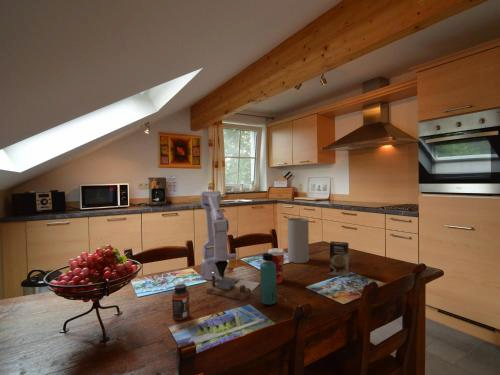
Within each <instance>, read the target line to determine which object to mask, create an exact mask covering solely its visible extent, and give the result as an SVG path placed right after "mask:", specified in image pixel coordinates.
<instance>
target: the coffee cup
mask: <svg viewBox="0 0 500 375" xmlns="http://www.w3.org/2000/svg"><path fill="white" fill-rule="evenodd" d="M267 253H270V254H273V260H272V261H271V262H273V263H274V264H275V265H276V274H277V275H276V284H280V283H283V280H284V279H283V278H284V262H285V260H284V259H285V251H284V249H282V248H275V247H274V248H270V249H268V252H267Z"/></svg>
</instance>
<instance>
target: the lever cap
mask: <svg viewBox="0 0 500 375" xmlns="http://www.w3.org/2000/svg"><path fill="white" fill-rule="evenodd" d="M217 283H218V289H221V290H227V291H231V290H232V289H233V288H234V287H235V284H236V283H235V278H234V277H227V276H224V280H220V279H218V280H217Z"/></svg>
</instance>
